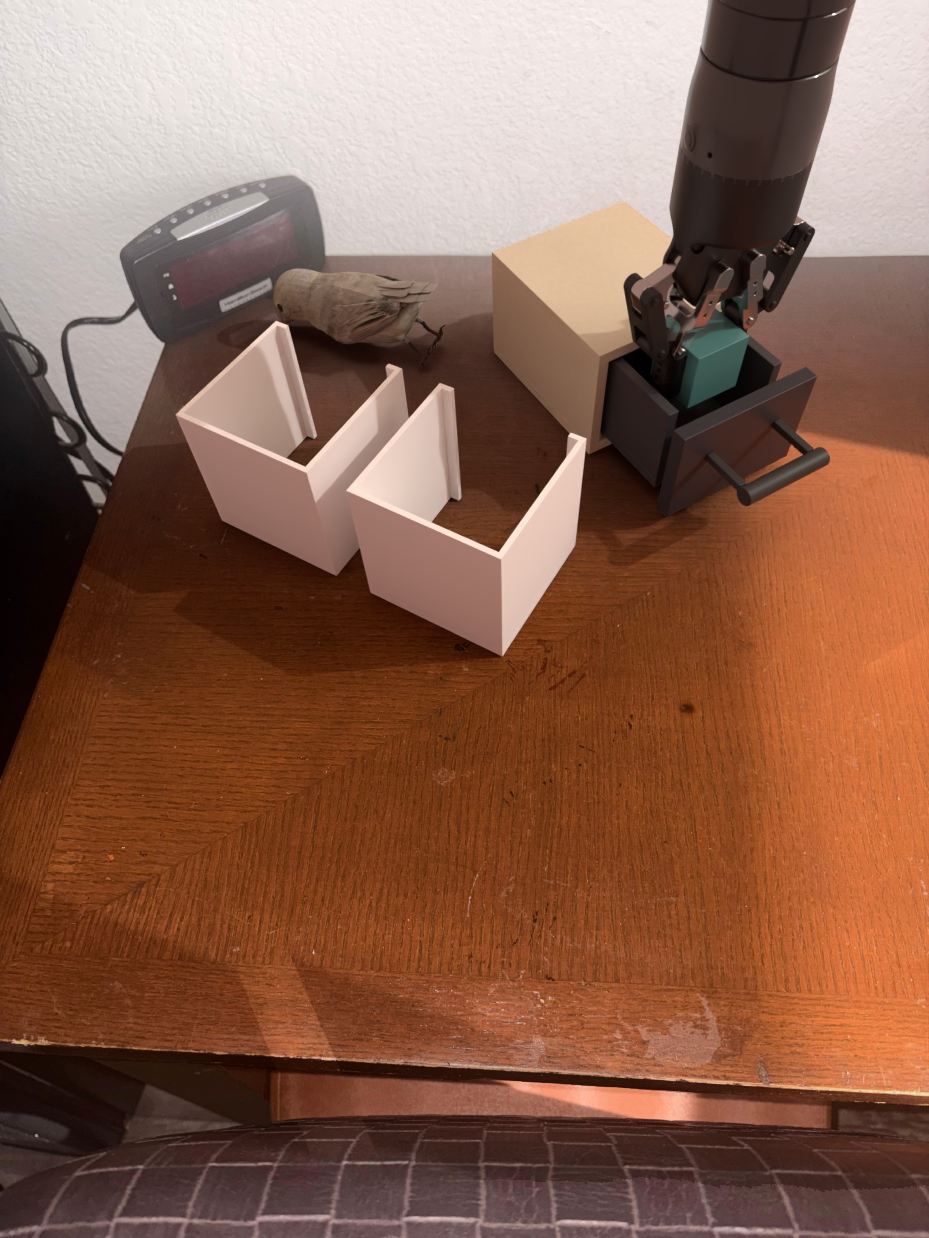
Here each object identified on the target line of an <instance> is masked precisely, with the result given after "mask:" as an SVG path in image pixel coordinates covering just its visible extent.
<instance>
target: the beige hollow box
mask: <svg viewBox="0 0 929 1238" xmlns="http://www.w3.org/2000/svg"><path fill="white" fill-rule="evenodd" d="M672 238H673V237H671V236H670V235H668V233H666V232H665V231H664V230H662V229H661V228H660V227H658V226H657V225H656V224H654V223H653V222H652V221H651V220H650V219H649V218H647V217H646V216H645V215H643V214H642V213H641V212H639V211H638V210H637V209H636V208H634V207H633V206H632V205H630V204H629V203H628V202H627V201H625V200H621V201H618V202H616V203H613V204H611V205H608V206H606V207H603V208H601V209H597V210H595V211H594V212H590V213H588V214H585V215H582V216H580V217H578V218H575V219H572V220H570V221H567V222H566V223H563V224H560V225H557V226H554V227H552V228H550V229H547V230H544V231H542V232H539V233H536V234H534V235H532V236H529V237H527V238H524V239H521V240H519V241H516V242H514V243H511V244H509V245H505V246H504V247H501V248H498V249H496V250H493V251H492V252H491V280H492V283H491V285H492V286H491V287H492V332H493V333H492V335H493V337H492V338H493V339H492V340H493V353H494V354H495V355H496V356H497V357H498V358H499V360H501V361H502V362H503V364H504V365H505V366H506V367H507V368H508V369H509V370H510V372H512V373H513V375H514V376H515V377H516V378H517V379H518V380H519V381H520V382H521V383H522V384H523V386H525V388H526V389H527V390H528V391H529V392H530V393H531V394H532V395H533V396H534V397H535V398H536V400H537V401H539V403H540V404H541V405H542V406H543V407H544V408H545V409H546V410H547V411H548V412H549V413H550V414H551V415H552V416H553V418H554V419H555V420H556V421H557V422H558V423H559V424H560V425H561V426H562V427H563V429H565V430H566V432H567V433H568V435H569V434H570V433H573V434H576V435H578V436H581V437H584V438H586V449H585V453H587V454H588V455H591V454H593V453H595V452H597V451H599V450H602V449H604V448H606V447H608V446H610V445H613V444H612V443H611V442H610V441H609V440H608V439H607V438H606V437H605V436H604V435H603V434H602V433H601V432H600V429H601V421H602V412H603V404H604V396H605V388H606V380H607V372H608V363H609V361H611V360H614V359H616V358H618V357H620V356H623V355H625V354H627V353H629V352H632V351H634V350H636V349H638V348H640V347H639V346H638V345H637V344H635V343H634V342H633V340H632V334H631V328H630V322H629V317H628V311H627V305H626V299H625V293H624V287H623V285H624V282H625V280H626V278H627V277H628V276H629V275H631V274H633V273H637V274H639V275H640V276H641V277H642V278H643V279H644V278H645V277H647V276H648V275H649V274H651V273H652V272H654V271H655V270H656V269H658V268H659V267H661V266H662V262H663V257H664V255H665V253H666V251H667V249H668V247H669V245H670V243H671V241H672ZM683 300H684V301H685V302H686V303H687V304H688V305H689V306H690V307H692V308H693V309H695V308H696V307H694V306H692V305H691V304H690V303H688V302H687V301H686V300H685V299H684V298H683ZM715 308H716V309H717V310H718V311H720V312H722V313H723V314H724V312H723V311H722V310H721V303H720V302H719V303H717V305H716V307H715Z"/></svg>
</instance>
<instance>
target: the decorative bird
mask: <svg viewBox="0 0 929 1238" xmlns="http://www.w3.org/2000/svg"><path fill="white" fill-rule="evenodd" d="M438 285H439V283H430V282H429V281H419V282H418V281H417V280H402V279H399V278H396V277H395V276H392V275H388V274H380V273H379V274H377V273H376V274H375V273H373V274H372V273H367V272H360V271H341V272H320V271H316V270H312V269H308V268H300V267H297V268H292V269H289V270H286V271H284V272H283V273H281V274H280V276H279V277H278V279H277V280H276V282H275V284H274V287H273V293H272V304H273V308H274V311H275V313H276V316H277V318H278V320H279V321H281V323H283V324H286V325H288V324H289V323H293V322H295V321H304V322H309V323H310V324H311V325H312V326H311V327H314V328H316V329H317V330H320V331H322V332H323V333H325V334H326V335H328V336H330V337H331V338H332V339H334V340H335V341H337V342H339V343H341V344H343V345H353V344H356V343H366V344H380V343H387V344H395V343H398V342H402V343H404V344H407V345H409V347H410V348H411V349H412V350H413V351H414V352H415V353H418V354H419V355H421V356H423V358H422V359H421V361H420V362H419V367H418V372H419V373H421V367H422V368H423V369H424V364H425V363H426V362H427V361H428V360H429V358H430V356H431V353H433V352H434V347H435V349H437V343H438V342H440V340H442V337H443V334H444V331H443V329H444V327H446V324H443V325H442V326H441V327H439V330H438V332H437V331H436V330H434V329H432V328H430V327H429V326H428V325H427V324H426V322H425V321H424V319H423V318H422V317H421V316H420V315H419V313H420V310H421V308H422V305H423V303H425V302H428V300H429V299H430V297H431V294H432V293H434V292H435V290H436V289H437V288H438ZM415 323H417V324H418V323H419V324H420V325H422V327H423V329H425V330H426V331H427V332H429V333H430V334H432V335H433V336H436V338H435V339H434V340H433V342H432V344H431V345H429V346H428V347H427V348H426V352H424V351H422V350H421V349H420V348H418V347H416V346H415V345H414V343H413V342H412V340H410V338H409V337H408V336H407V334H409V332H410V331H411V329H412V328H413V326H414V324H415Z"/></svg>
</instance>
